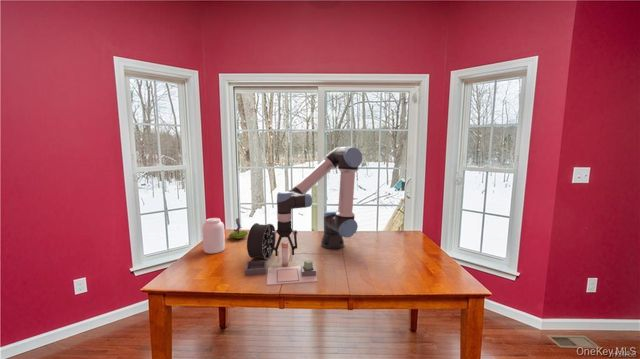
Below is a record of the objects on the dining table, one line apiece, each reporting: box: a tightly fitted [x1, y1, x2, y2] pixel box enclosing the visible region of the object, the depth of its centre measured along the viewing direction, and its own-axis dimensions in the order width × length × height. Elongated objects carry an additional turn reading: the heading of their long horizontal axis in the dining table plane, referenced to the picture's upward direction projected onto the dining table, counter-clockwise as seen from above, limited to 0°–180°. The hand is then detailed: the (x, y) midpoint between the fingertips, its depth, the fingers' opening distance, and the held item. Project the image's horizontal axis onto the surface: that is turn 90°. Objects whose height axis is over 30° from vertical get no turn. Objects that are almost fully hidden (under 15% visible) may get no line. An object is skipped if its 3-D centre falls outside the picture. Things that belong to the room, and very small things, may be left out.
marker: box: [281, 241, 289, 267], centre depth 147 cm, size 3×3×12 cm
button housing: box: [300, 264, 317, 277], centre depth 137 cm, size 7×7×2 cm
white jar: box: [202, 217, 226, 255], centre depth 166 cm, size 12×12×20 cm
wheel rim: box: [246, 222, 277, 260], centre depth 156 cm, size 20×9×20 cm, turn 168°
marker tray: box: [244, 259, 267, 276], centre depth 140 cm, size 10×10×3 cm
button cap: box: [303, 260, 314, 271], centre depth 136 cm, size 4×4×4 cm
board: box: [266, 265, 318, 286], centre depth 135 cm, size 24×17×1 cm
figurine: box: [228, 217, 249, 240], centre depth 188 cm, size 14×13×15 cm
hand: (284, 260), depth 148 cm, fingers open, 6 cm apart
